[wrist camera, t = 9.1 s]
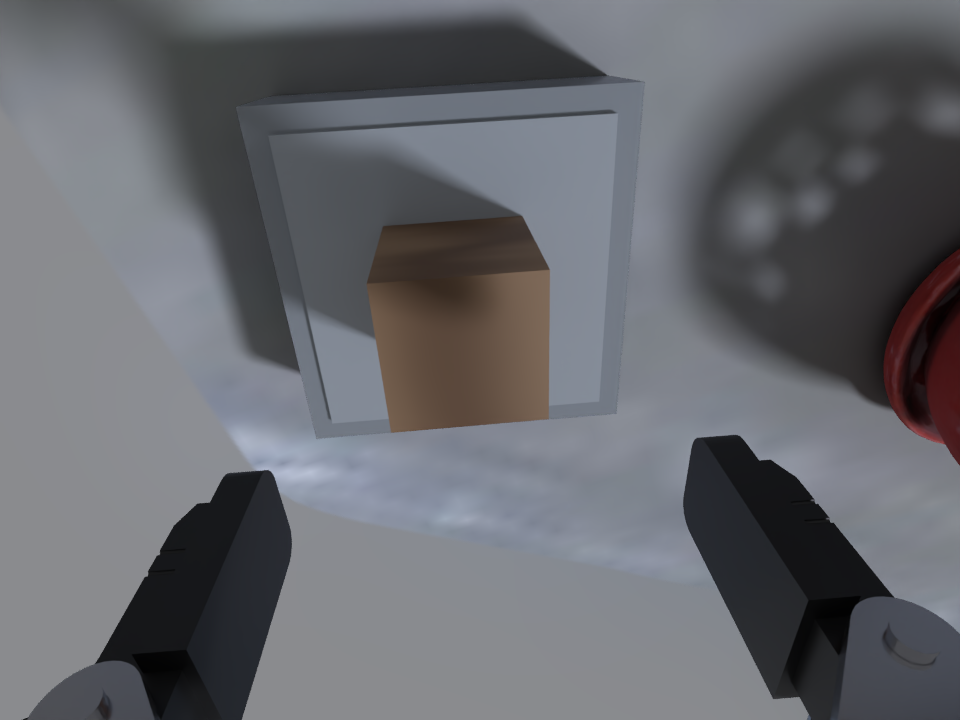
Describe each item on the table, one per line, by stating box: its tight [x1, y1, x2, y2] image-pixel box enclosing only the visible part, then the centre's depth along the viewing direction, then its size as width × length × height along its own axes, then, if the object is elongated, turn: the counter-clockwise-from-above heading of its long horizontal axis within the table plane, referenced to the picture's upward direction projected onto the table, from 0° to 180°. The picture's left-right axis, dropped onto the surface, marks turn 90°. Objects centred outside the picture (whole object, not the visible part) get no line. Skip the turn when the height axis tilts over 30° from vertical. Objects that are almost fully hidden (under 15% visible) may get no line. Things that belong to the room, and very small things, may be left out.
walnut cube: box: [367, 216, 550, 433], centre depth 17 cm, size 4×4×5 cm
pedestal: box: [236, 75, 645, 439], centre depth 21 cm, size 12×12×4 cm
